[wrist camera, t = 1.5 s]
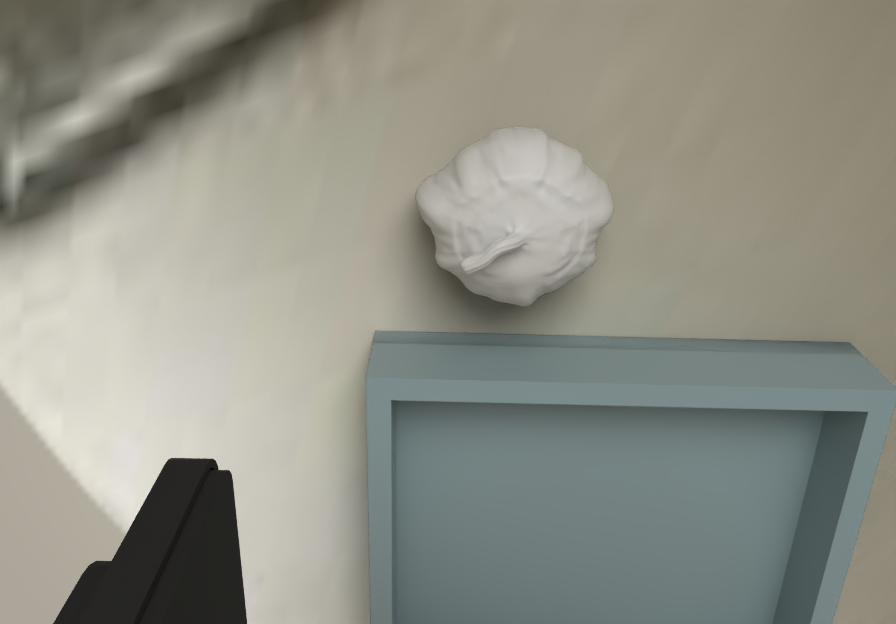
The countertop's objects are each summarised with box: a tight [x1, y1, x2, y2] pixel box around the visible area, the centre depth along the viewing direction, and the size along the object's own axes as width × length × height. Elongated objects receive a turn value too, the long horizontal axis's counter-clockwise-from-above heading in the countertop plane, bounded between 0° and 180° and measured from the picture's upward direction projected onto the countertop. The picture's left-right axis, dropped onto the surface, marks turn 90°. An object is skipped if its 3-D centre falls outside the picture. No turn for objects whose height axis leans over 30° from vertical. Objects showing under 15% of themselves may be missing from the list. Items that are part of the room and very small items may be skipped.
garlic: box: [415, 127, 614, 307], centre depth 24 cm, size 6×5×5 cm
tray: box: [366, 331, 896, 624], centre depth 30 cm, size 17×15×4 cm
